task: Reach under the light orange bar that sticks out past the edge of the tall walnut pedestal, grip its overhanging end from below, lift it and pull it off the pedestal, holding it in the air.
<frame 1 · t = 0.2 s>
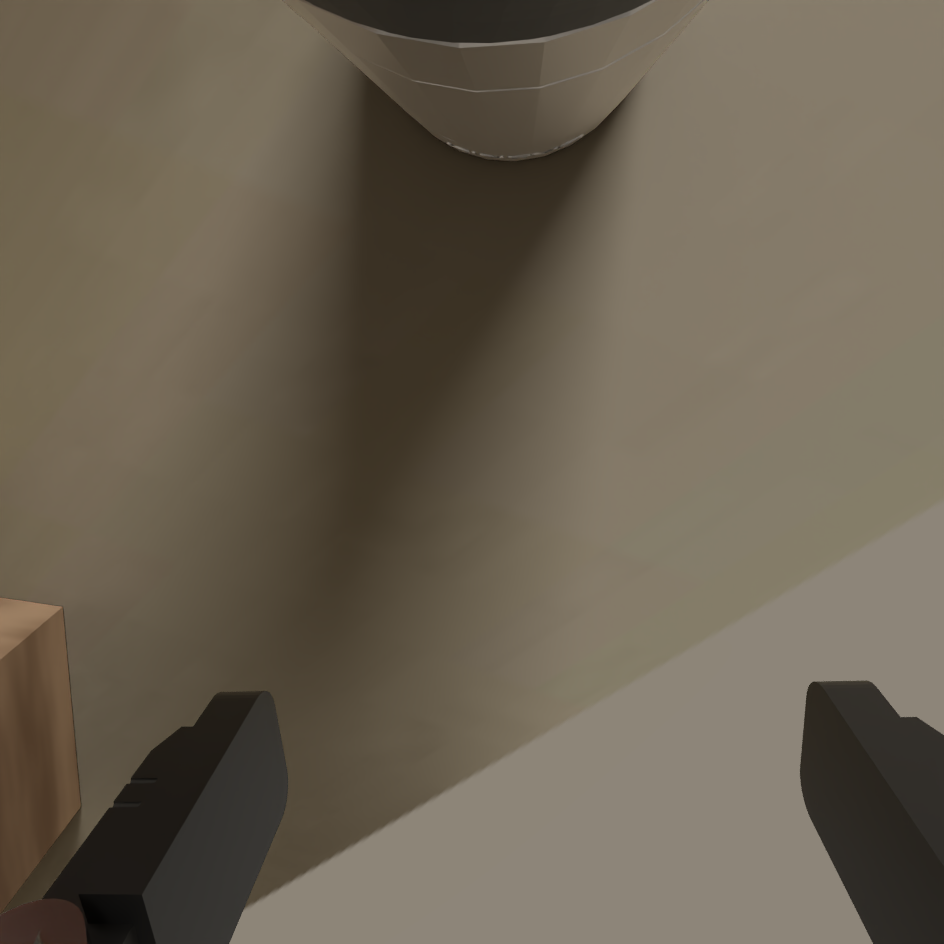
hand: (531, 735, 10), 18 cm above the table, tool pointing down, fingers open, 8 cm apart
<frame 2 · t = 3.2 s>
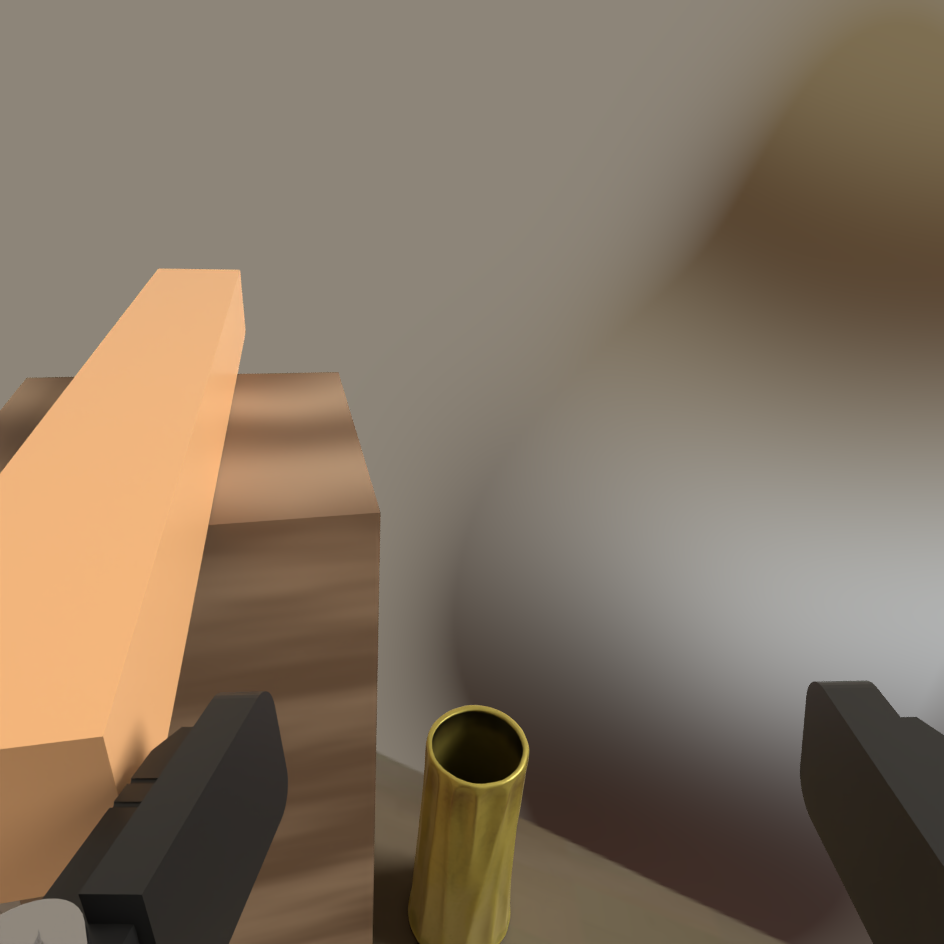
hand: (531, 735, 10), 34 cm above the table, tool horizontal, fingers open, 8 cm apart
light orange bar: (161, 460, 22), point 32 cm above the table, touching gripper, pedestal
vase: (458, 912, 42), on the table
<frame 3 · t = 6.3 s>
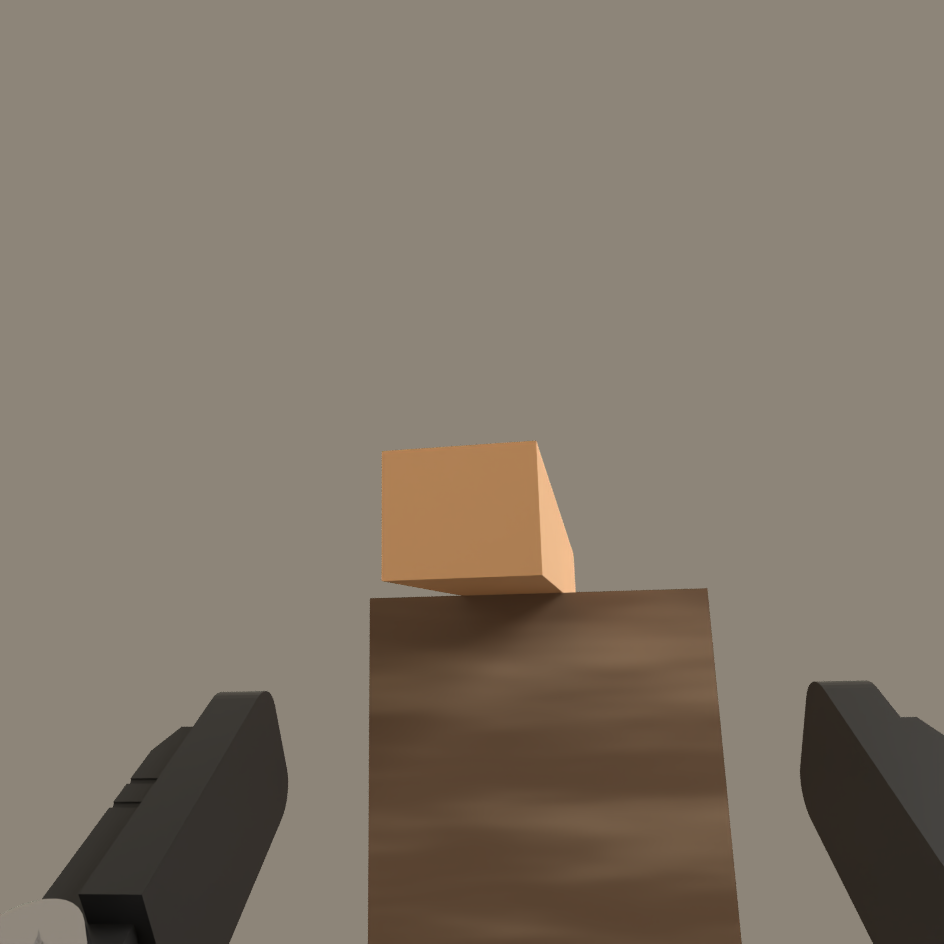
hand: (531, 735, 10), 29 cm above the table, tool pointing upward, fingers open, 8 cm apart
light orange bar: (523, 597, 29), point 32 cm above the table, touching pedestal
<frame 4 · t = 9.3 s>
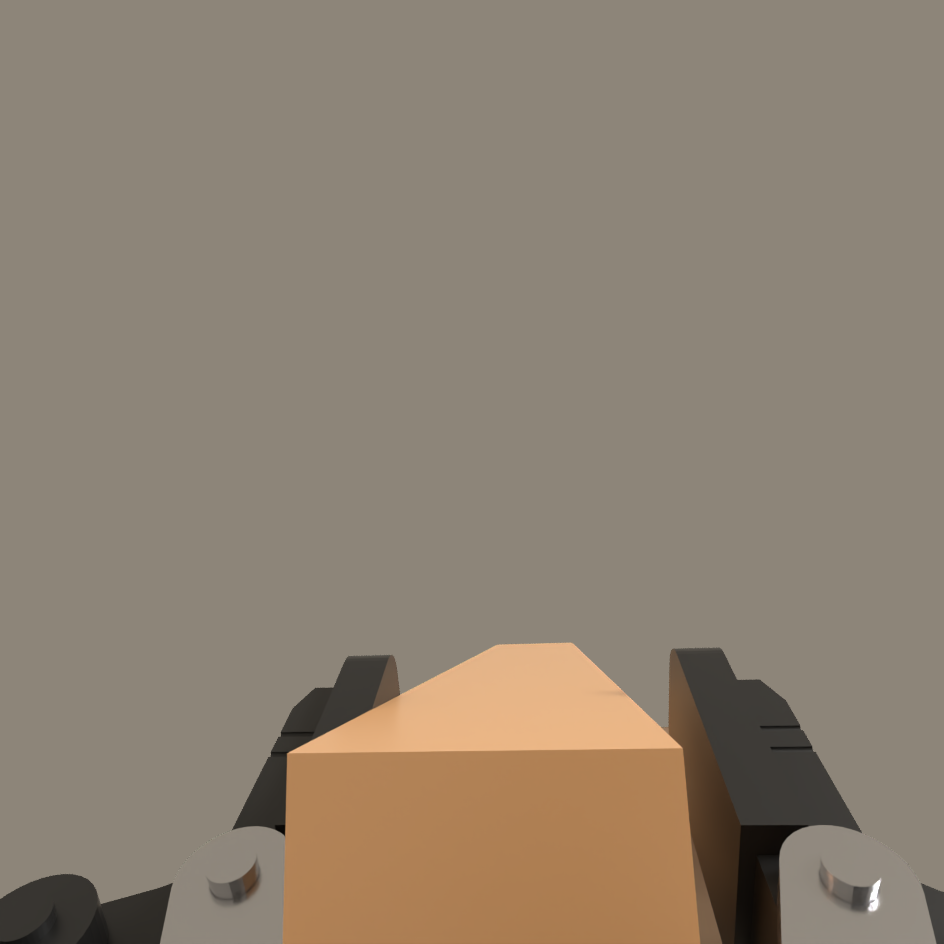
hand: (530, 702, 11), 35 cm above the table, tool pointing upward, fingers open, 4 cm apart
light orange bar: (530, 772, 19), point 32 cm above the table, touching gripper, pedestal
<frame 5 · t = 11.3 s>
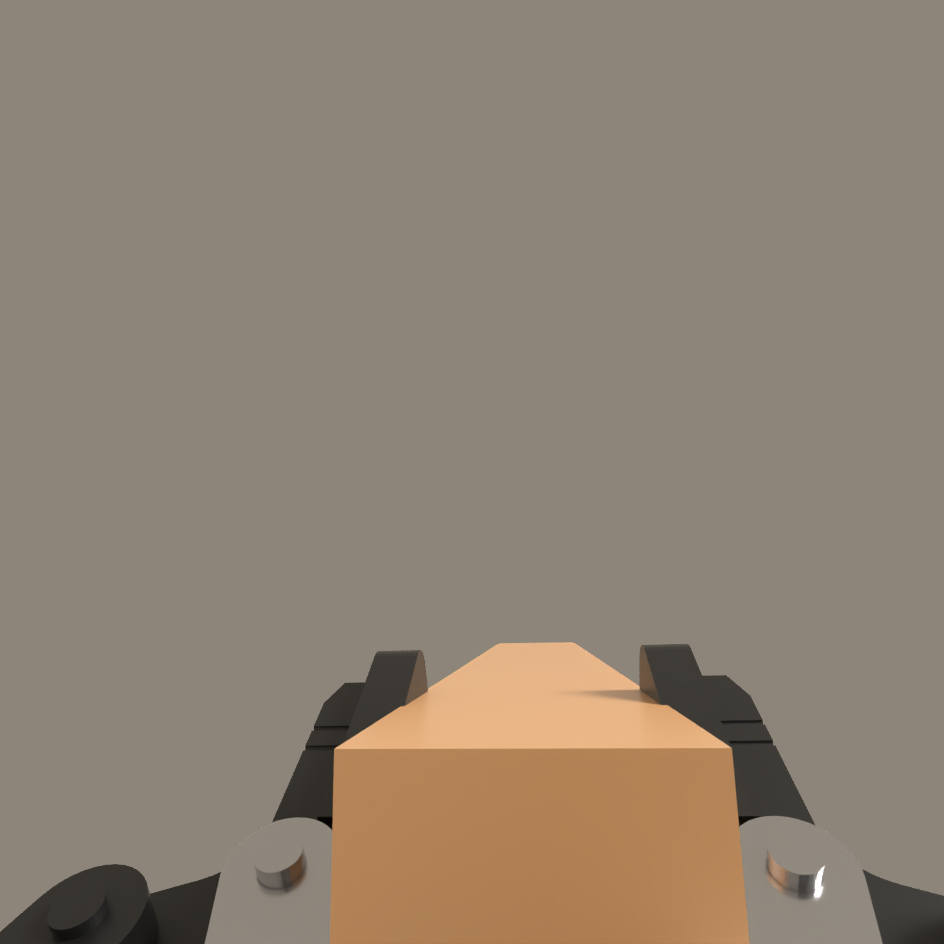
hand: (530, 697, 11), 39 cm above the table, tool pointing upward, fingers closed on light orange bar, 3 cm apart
light orange bar: (538, 771, 19), point 36 cm above the table, touching gripper
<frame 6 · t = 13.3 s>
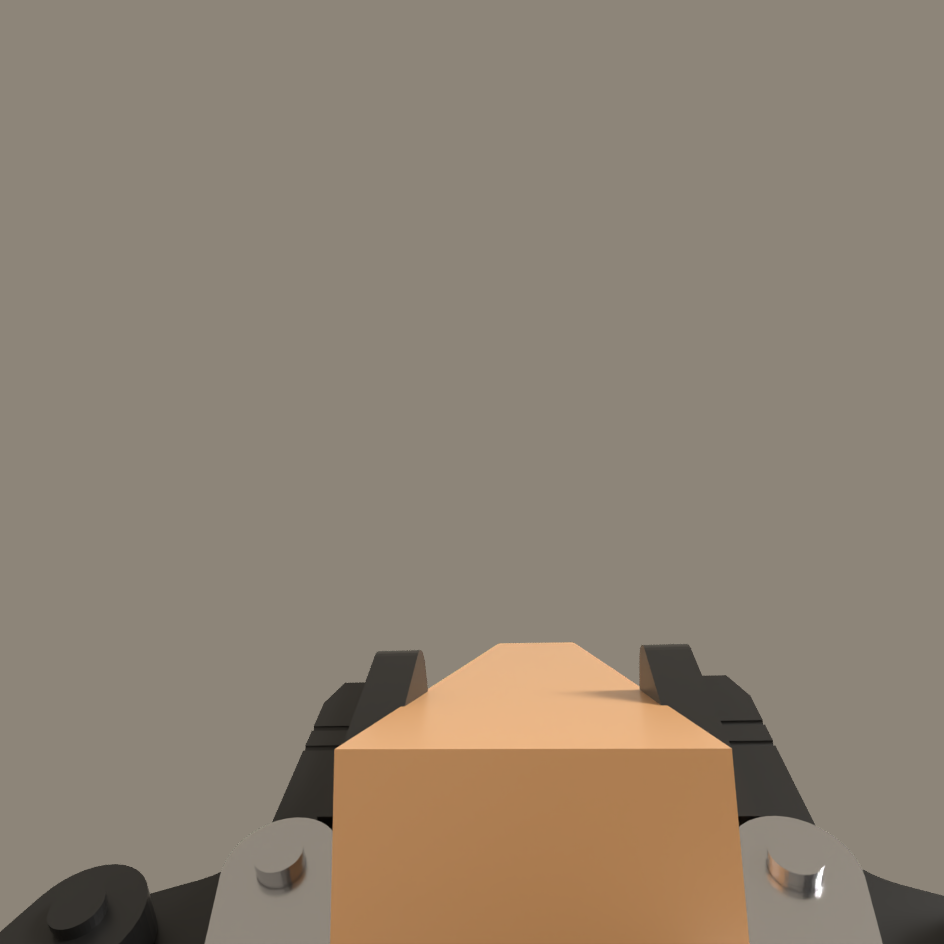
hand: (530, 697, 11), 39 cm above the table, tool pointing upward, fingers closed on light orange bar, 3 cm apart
light orange bar: (538, 771, 19), point 36 cm above the table, touching gripper
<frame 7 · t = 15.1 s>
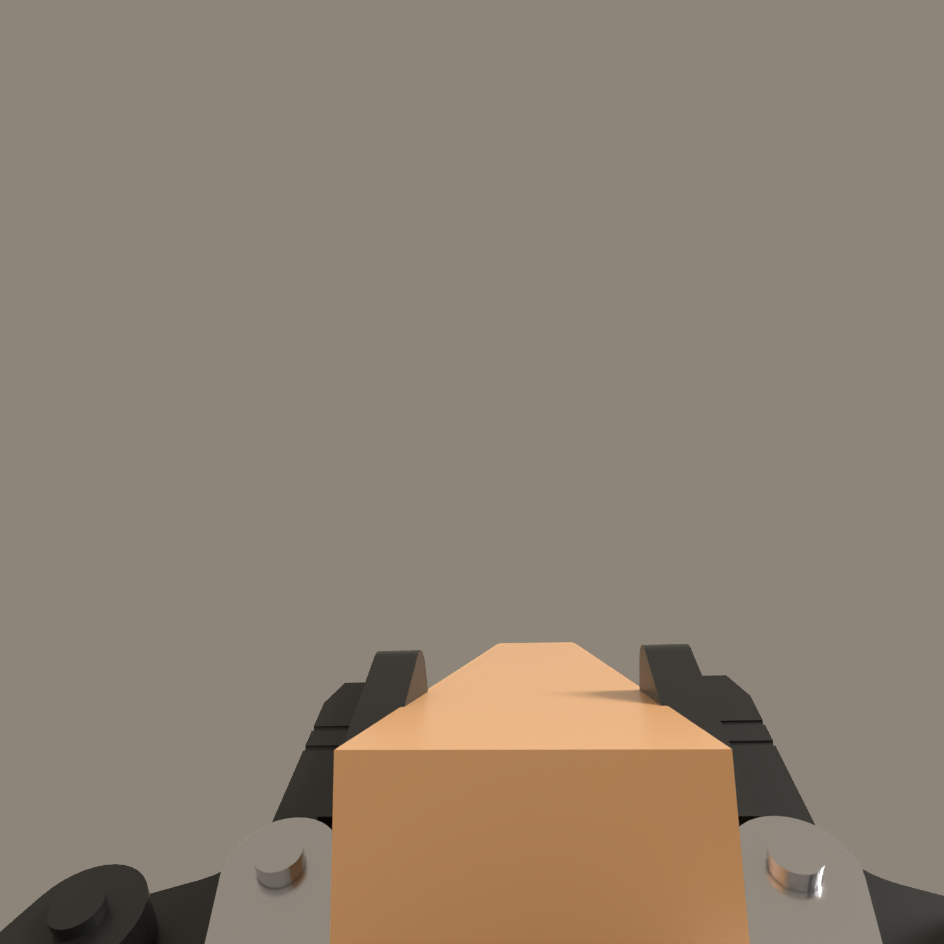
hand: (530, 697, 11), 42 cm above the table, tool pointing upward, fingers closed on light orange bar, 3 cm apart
light orange bar: (538, 771, 19), point 39 cm above the table, touching gripper
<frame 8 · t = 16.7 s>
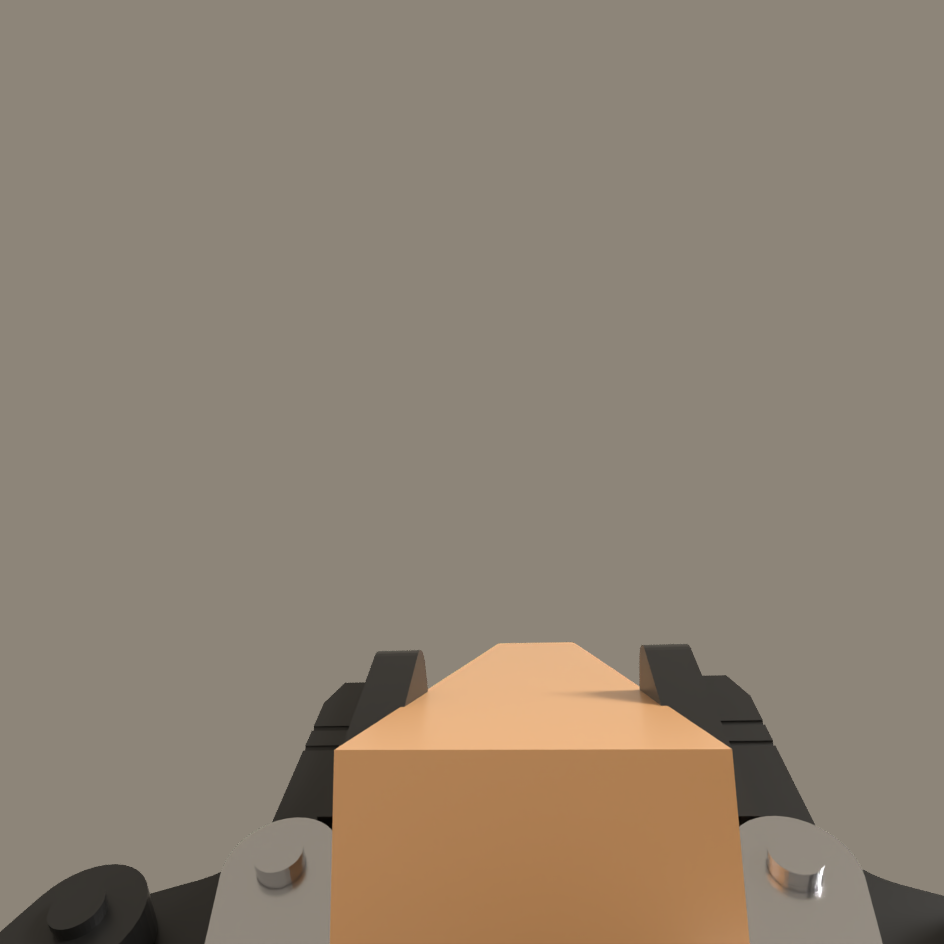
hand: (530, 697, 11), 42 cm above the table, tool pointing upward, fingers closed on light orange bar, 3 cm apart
light orange bar: (538, 771, 19), point 39 cm above the table, touching gripper
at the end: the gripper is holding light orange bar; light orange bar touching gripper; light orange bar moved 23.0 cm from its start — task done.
